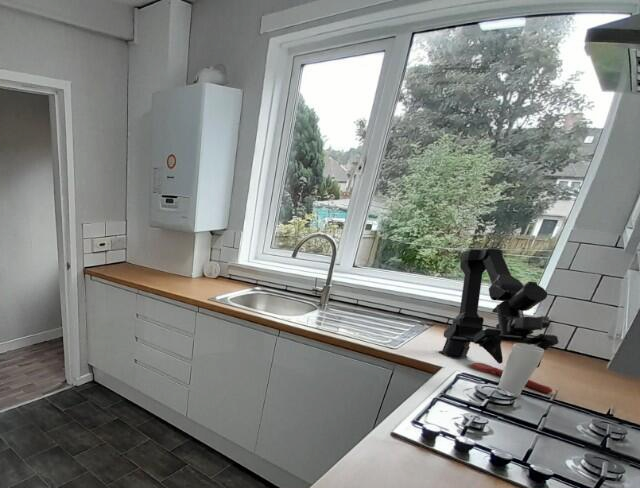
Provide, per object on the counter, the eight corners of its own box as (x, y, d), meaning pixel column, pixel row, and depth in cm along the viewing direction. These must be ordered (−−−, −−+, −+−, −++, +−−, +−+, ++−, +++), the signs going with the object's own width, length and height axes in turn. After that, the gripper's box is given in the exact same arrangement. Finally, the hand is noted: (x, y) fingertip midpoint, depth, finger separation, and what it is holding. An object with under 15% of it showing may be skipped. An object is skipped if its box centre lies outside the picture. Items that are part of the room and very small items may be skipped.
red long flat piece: (466, 366, 142) (469, 360, 141) (479, 365, 143) (481, 359, 143) (543, 395, 122) (546, 389, 121) (556, 393, 124) (559, 387, 123)
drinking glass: (510, 390, 124) (532, 344, 119) (528, 400, 118) (552, 352, 112) (486, 388, 125) (507, 342, 119) (503, 398, 119) (526, 350, 113)
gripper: (494, 301, 119) (501, 349, 113) (569, 308, 115) (581, 358, 109) (470, 320, 129) (475, 365, 123) (538, 327, 125) (547, 373, 120)
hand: (518, 365), depth 119 cm, fingers open, 9 cm apart
